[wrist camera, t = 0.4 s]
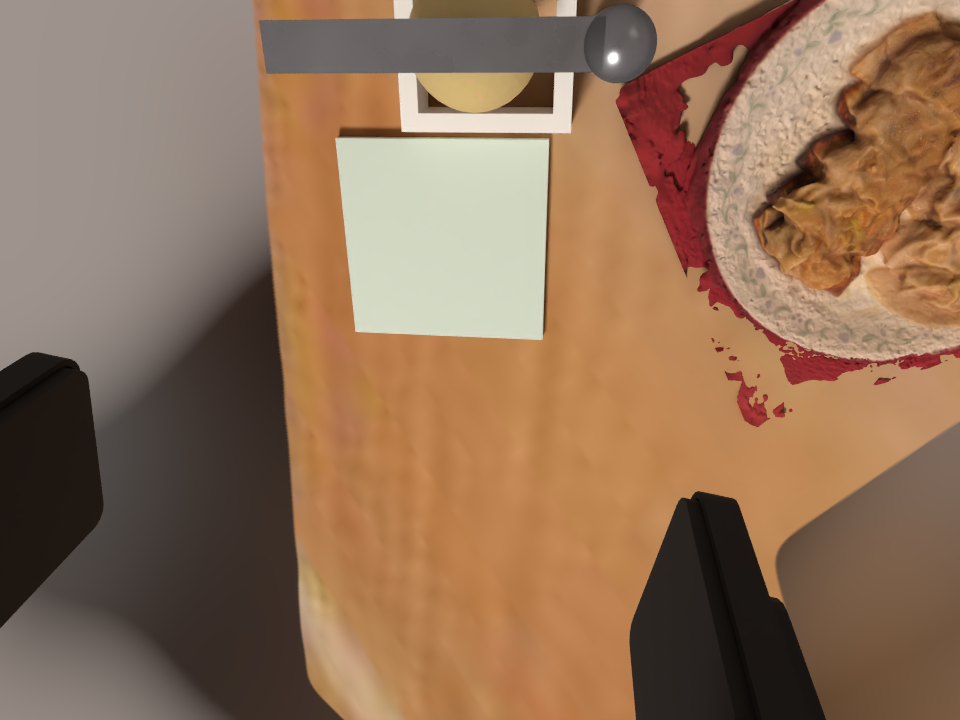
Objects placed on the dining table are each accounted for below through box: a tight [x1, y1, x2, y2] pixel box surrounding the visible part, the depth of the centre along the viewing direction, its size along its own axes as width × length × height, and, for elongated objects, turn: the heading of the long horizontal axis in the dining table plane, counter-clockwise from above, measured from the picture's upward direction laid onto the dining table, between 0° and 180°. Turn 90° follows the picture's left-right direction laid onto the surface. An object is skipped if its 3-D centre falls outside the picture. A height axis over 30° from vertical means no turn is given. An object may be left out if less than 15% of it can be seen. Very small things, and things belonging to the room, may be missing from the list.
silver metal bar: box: [259, 4, 657, 83], centre depth 28 cm, size 3×16×2 cm, turn 91°
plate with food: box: [616, 0, 960, 427], centre depth 38 cm, size 25×26×4 cm
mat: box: [336, 137, 549, 340], centre depth 44 cm, size 13×13×1 cm
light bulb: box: [409, 0, 539, 113], centre depth 34 cm, size 6×6×10 cm
